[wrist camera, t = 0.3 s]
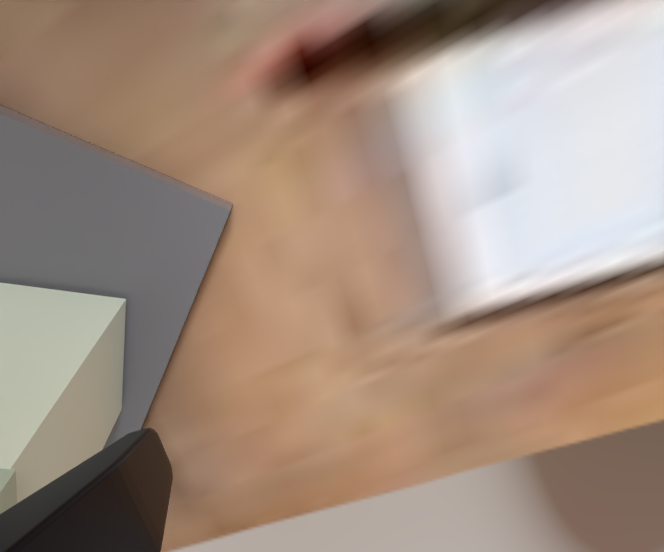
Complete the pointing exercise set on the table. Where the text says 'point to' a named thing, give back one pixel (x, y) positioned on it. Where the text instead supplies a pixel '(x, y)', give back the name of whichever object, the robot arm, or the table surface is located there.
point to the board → (106, 241)
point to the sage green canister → (55, 383)
